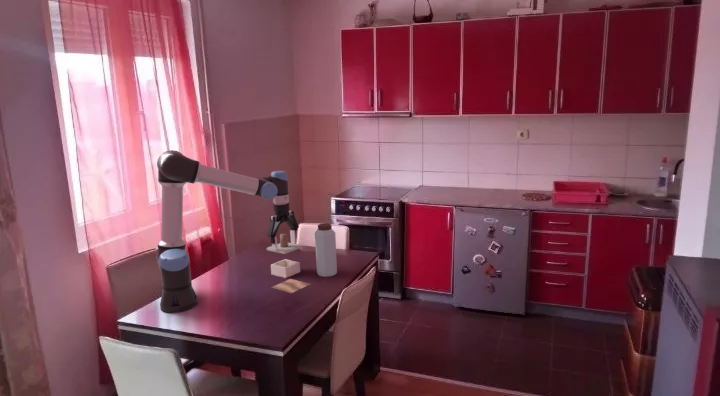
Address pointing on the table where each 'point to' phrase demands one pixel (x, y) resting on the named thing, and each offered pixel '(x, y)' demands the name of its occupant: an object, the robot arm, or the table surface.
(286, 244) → the lid
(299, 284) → the plate
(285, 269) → the dish
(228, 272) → the table surface
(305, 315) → the table surface
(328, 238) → the water bottle
